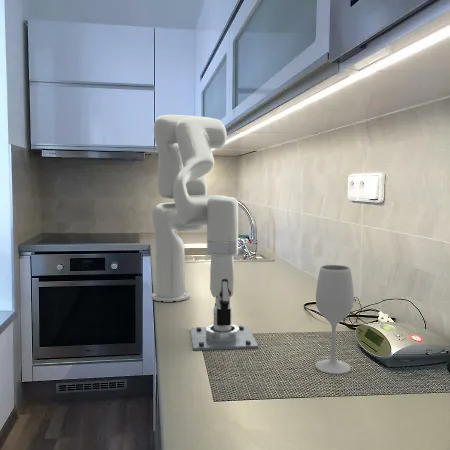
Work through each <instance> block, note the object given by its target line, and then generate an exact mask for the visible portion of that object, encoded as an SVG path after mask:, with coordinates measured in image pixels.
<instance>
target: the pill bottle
mask: <svg viewBox="0 0 450 450" xmlns="http://www.w3.org/2000/svg"><path fill="white" fill-rule="evenodd" d="M221 300H222V299H221ZM215 303H216V306H215V305H214V307H213V324H214V330H216V331H222V332H224V331H229V330H231V328H232V324H233V323H231V324H230V325H224V326H218V325H217V309H218V297H217V298H216V297H215ZM230 309H231V314H232V313H233V311H232V307H231V306H230Z"/></svg>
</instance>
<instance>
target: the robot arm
mask: <svg viewBox="0 0 450 450" xmlns="http://www.w3.org/2000/svg"><path fill="white" fill-rule="evenodd" d="M227 135H228V134H227V129H226V127H225V124H224V123H223V122H222V121H221V120H220V119H218V118H212V117H207V116H201V115H200V116H199V115H198V116H197V115H185V114H184V115H183V114H162V115H159V116H158V117H156V119H155V121H154V123H153V138H154V142H155V146H156V148H157V155H158V163H157V165H158V167H157V190H158V194H159V196H160V197H161V198H164V199H171V200H173V202H171V201H169V202H160V203H158V204H156V205H155V206H154V207H153V209H152V210H151V211H152V212H151V213H152V214H151V219H152V224H153V225H152V226H153V231H154V242H155V243H154V245H155V247H154V248H155V249H154V250H155V292H152V293H151V295H150V297H151V298H150V299H152V300H153V301H156V302H161V301H163V303H172V302H173V301H176V302H183V301H187V300H188V299H190V293H189V291H186V287H185V284H186V283H185V282H186V281H185V280H186V275H185V274H186V271H185V270H186V269H185V268H186V267H185V266H186V264H185V261H186V259H185V253H186V251H185V243H184V241H183V239H182V238H181V237H180V236H179V235H178V233H179V232H191V231H199V230H202V229H203V227H204V226H206V255H208V256H210V279H209V281H210V282H209V283H210V284H209V290H210V294H211V296H212V297H213V298H215V299H216V298H217V297H218V309H217V325H218V326H224V325H230V324H232V313H231V310H232V308H231V309H230V307H231V298H232V296H234V286H235V285H234V282H235V280H234V277H235V276H234V275H235V274H234V271H235V269H234V267H235V266H234V264H235V261H234V256H238V255H239V201H238V199H237V198H236V197H233V196H226V195H223V194H221V195H220V194H213V195H212V194H211V195H210V194H208V182H207V177H206V175H207V174H209V173H210V172H211V171H212V170H213V169H214V168H215V167H214V166H215V158H214V155H213V151H212V149H218V150H219V149H222V148H223V147H224V146H225V144H226V141H227ZM221 299H222V300H221ZM182 300H183V301H182ZM173 303H174V302H173ZM215 306H216V302H215V303H214V307H215Z"/></svg>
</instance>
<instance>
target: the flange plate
mask: <svg viewBox="0 0 450 450" xmlns="http://www.w3.org/2000/svg"><path fill="white" fill-rule="evenodd" d="M237 326H238V327H239V338H238V339H236V340H233V341H229V342H217V341H211V340H209V339H207V338H206V327H207V326H203V327H200V326H199V327H190V333H191V341H192V351H218V350H219V351H220V350H221V351H222V350H223V349H225V350H245V349H249V350H250V349H258V348H259V345H258V343H257V341H256V339H255V336H254V335H253V333H252V331H251V329H250V327H249V326H248V325H237ZM239 348H241V349H239ZM242 348H243V349H242Z"/></svg>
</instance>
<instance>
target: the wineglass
mask: <svg viewBox="0 0 450 450" xmlns="http://www.w3.org/2000/svg"><path fill="white" fill-rule="evenodd" d="M353 283H354V282H353V276H352V270H351V267H349V266H345V265H340V264H326V265H321V266H320V269H319V272H318V277H317V283H316V290H315V305H316V308H317V311H318V312H319V313H320V314H321V315H322V316H323V318H324V319H326V321H328V322H329V324H330V326H331V354H330V355H331V356H330V359H322V360H318V361H317V362H316V363H315V364H314V365H315V369H316V370H318V371H320V372H322V373H325V374H330V375H344V374H347V373H349V372H350V371H351V369H352V368H351V366H350V364H348V363H347V362H345V361H342V360H338V359H337V358H336V333H337V332H336V329H337V327H338V324H339V323H341V322H342V321H343V320H344V319H346V318H347V317H348V315H350V314H351V312H352V310H353V309H354V302H355V301H354V300H355V295H354V293H355V292H354V284H353Z"/></svg>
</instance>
